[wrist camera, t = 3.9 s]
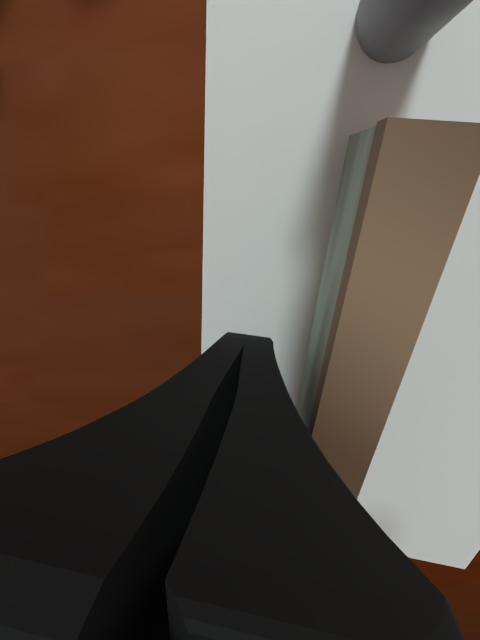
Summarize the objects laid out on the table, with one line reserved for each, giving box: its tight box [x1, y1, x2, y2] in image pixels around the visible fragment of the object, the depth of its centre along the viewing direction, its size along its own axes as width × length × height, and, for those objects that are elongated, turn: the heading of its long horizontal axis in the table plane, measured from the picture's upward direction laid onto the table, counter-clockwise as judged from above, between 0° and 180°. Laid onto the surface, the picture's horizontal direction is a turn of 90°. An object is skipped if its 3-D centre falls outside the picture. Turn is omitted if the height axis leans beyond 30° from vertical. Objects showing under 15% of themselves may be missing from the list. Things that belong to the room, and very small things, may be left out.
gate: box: [296, 117, 480, 499], centre depth 9 cm, size 15×2×4 cm, turn 176°
